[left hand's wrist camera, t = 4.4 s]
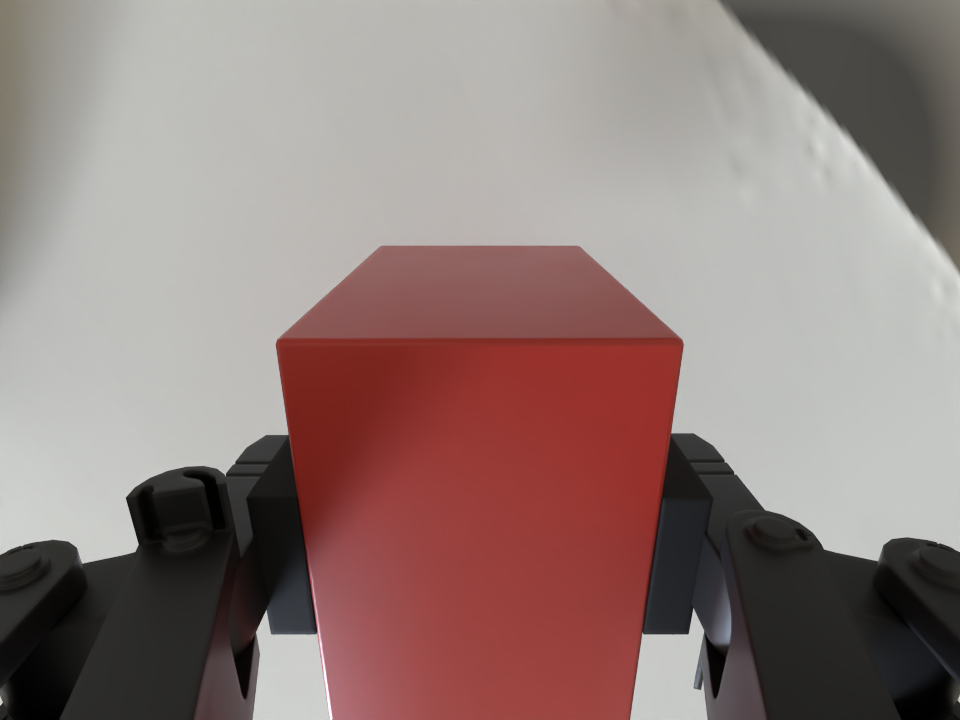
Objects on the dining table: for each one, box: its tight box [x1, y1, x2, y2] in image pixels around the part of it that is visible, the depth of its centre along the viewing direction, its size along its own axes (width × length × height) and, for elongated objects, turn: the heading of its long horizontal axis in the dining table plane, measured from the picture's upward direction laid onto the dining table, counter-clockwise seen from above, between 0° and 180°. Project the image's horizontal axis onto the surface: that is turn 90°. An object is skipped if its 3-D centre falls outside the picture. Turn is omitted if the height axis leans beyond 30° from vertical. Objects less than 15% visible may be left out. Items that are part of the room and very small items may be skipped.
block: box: [276, 246, 684, 720], centre depth 12 cm, size 6×8×8 cm
